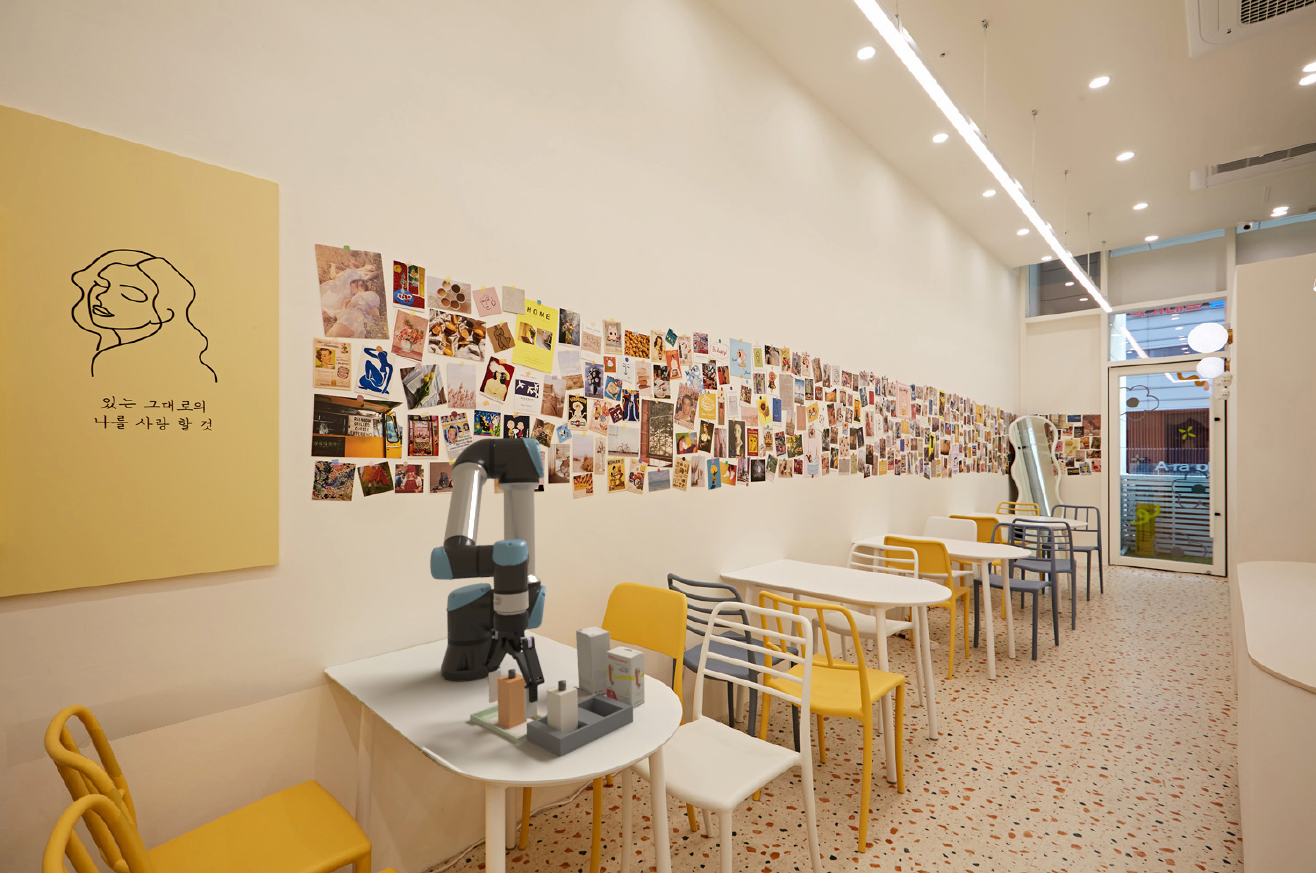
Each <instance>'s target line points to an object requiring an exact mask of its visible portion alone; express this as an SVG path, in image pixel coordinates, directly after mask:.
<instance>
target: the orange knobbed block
mask: <svg viewBox="0 0 1316 873" xmlns="http://www.w3.org/2000/svg"><path fill="white" fill-rule="evenodd" d="M525 686H526V683H525V680H524V678H523V676H522V674H519V673H517V672H516V669H515V668H510V669H508V670H507V674H506V675H503V676H501V677H500V678H498V701H497V705H498V717H497V723H498V724H500V725H502V726H505V727H506V728H508V729H512V728H514V727H517V726H519V725H521V724H525V723H528V722H527V721H528V719H525V718H524V687H525Z"/></svg>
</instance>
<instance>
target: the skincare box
mask: <svg viewBox="0 0 1316 873" xmlns="http://www.w3.org/2000/svg"><path fill="white" fill-rule="evenodd" d="M575 633H576V634H575V635H576V638H575V639H576V653H577V654H576V656H577V672H578V674H577V677H578V688H579V689H581V690H582V691H585V692H588V693H589V694H591V695H592V696H595V695H597V694H601V695H607V677H606V651H609V650H611V638H610V631H608V630H605V629H603V628H600V627H597V626H590V627H585V628H580V629H577V630H576V632H575Z"/></svg>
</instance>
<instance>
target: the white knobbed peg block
mask: <svg viewBox="0 0 1316 873" xmlns="http://www.w3.org/2000/svg"><path fill="white" fill-rule="evenodd" d="M557 682H558V683H557V686H554V687H552V688H550V689H547V690H546V700H547V701H546V704H547V706H546V707H547V708H546V709H547V712H546V715H547V721H548V726H550V727H552V728H554V729H557V730H559V731H561V732H563V733H565V734H569V733H571V732H573V731H575V730H577V729H578V702H579V701H578V698H579V697H578V688H576V687H573V686H570V685H568V684H567V681H566V680H564V679H563V680H558V681H557Z"/></svg>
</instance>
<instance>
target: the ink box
mask: <svg viewBox="0 0 1316 873" xmlns="http://www.w3.org/2000/svg"><path fill="white" fill-rule="evenodd" d="M606 677H607V693H606V697H609V698H612V699H615V700H617V701H620V702H623V703H626V704H628V705H631V706H633V708H635V707H637V706H639V705H642V704H643V703H645V695H646V694H645V655H644V653H643V652H642V651H640V650H638V649H637V650H636V649H633V648H629V647H626V646H622V645H620V646H619V645H618V646H617V647H614V648H612V649H610V650H609V651H606Z"/></svg>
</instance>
